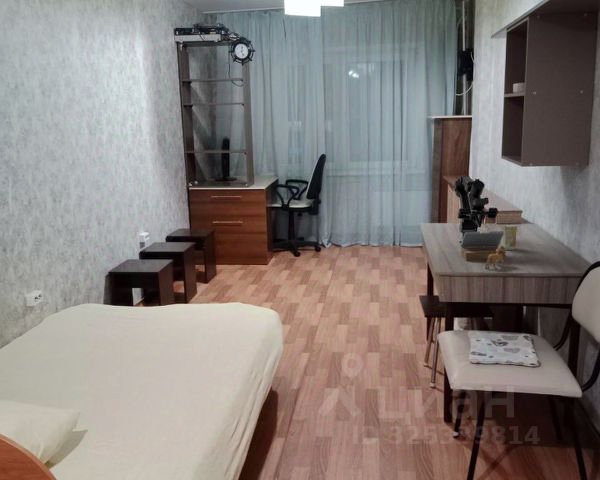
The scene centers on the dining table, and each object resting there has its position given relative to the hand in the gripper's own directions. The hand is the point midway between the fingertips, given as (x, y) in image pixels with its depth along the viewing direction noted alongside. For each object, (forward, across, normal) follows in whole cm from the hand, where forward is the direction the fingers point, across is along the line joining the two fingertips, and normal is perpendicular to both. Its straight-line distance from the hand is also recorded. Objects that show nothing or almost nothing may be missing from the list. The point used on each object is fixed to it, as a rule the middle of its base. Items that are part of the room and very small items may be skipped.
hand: (480, 227), depth 280 cm
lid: (+7, 0, +1) cm, 7 cm away
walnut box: (+14, 0, +6) cm, 15 cm away
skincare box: (+2, +17, +18) cm, 25 cm away
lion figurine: (+26, +2, -6) cm, 27 cm away
